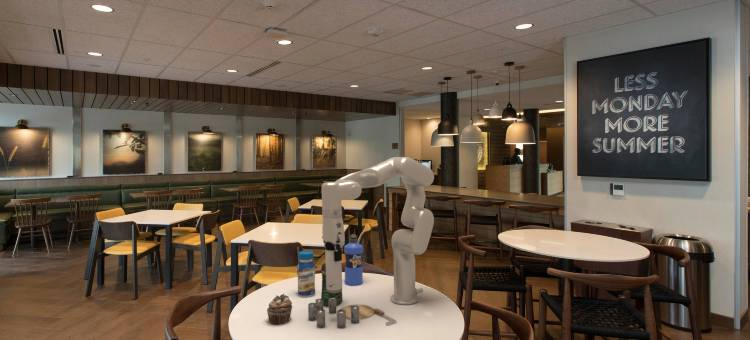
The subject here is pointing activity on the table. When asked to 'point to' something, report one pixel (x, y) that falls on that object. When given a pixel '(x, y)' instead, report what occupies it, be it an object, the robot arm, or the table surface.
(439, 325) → the table surface
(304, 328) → the table surface
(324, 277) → the coffee jar
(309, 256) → the beverage bottle
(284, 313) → the cupcake
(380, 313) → the hook tool
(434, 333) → the table surface
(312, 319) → the spacer field
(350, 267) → the water bottle
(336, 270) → the travel mug
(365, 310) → the round wooden board
